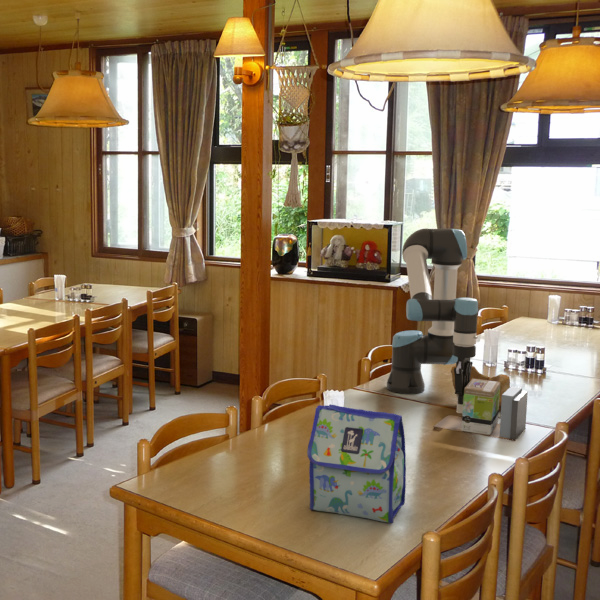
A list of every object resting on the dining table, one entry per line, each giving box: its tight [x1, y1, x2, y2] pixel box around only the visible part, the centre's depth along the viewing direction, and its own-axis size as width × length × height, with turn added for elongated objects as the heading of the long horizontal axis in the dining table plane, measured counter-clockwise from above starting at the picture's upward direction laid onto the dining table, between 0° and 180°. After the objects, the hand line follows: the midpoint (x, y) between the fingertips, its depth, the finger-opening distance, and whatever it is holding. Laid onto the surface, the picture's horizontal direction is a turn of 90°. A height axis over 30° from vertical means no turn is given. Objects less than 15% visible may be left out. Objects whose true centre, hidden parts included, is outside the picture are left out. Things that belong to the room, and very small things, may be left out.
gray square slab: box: [510, 389, 529, 441], centre depth 239 cm, size 2×13×13 cm, turn 150°
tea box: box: [461, 379, 500, 435], centre depth 246 cm, size 15×10×15 cm, turn 157°
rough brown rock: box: [450, 365, 511, 413], centre depth 268 cm, size 23×17×15 cm
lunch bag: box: [306, 403, 407, 524], centre depth 182 cm, size 22×17×26 cm
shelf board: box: [433, 414, 527, 442], centre depth 247 cm, size 27×15×1 cm, turn 60°
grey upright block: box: [499, 385, 523, 439], centre depth 240 cm, size 4×12×14 cm, turn 150°
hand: (461, 412), depth 249 cm, fingers closed
